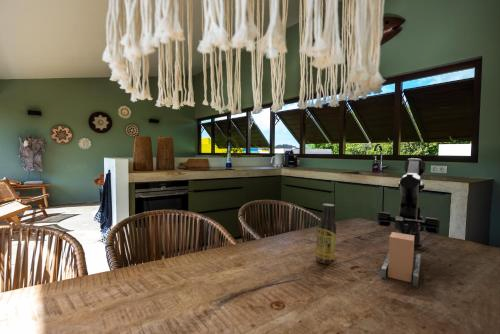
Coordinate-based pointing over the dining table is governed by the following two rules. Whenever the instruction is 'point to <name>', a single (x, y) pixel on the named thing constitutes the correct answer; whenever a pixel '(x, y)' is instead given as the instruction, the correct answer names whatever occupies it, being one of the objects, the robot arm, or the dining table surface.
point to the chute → (415, 274)
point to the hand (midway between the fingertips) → (404, 243)
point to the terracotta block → (401, 256)
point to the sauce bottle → (326, 235)
